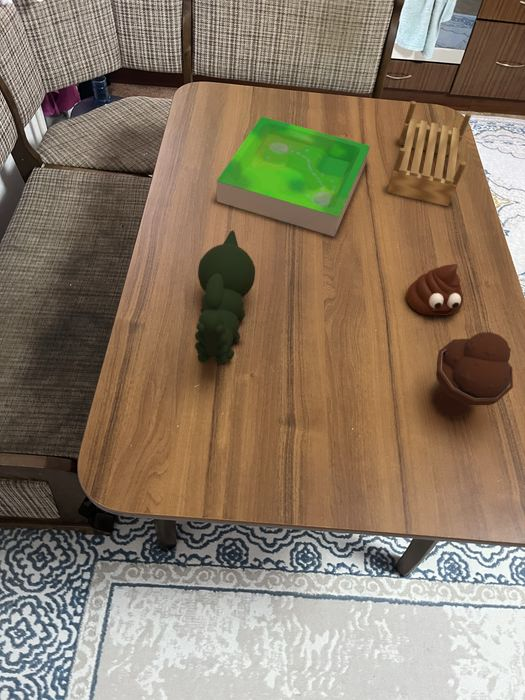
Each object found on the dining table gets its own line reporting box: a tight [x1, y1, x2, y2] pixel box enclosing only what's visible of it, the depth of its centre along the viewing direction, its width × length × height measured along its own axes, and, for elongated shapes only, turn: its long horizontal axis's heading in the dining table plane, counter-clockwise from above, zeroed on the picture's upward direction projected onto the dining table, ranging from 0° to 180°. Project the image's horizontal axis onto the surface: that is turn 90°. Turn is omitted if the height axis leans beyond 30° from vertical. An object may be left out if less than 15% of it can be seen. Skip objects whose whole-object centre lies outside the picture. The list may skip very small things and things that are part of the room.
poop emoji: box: [406, 263, 464, 316], centre depth 92 cm, size 10×8×9 cm
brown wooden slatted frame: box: [386, 100, 472, 207], centre depth 114 cm, size 13×20×10 cm, turn 164°
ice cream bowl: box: [434, 331, 514, 418], centre depth 78 cm, size 11×11×15 cm
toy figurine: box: [194, 230, 256, 366], centre depth 83 cm, size 9×19×25 cm
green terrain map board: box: [216, 116, 371, 238], centre depth 111 cm, size 25×25×5 cm
